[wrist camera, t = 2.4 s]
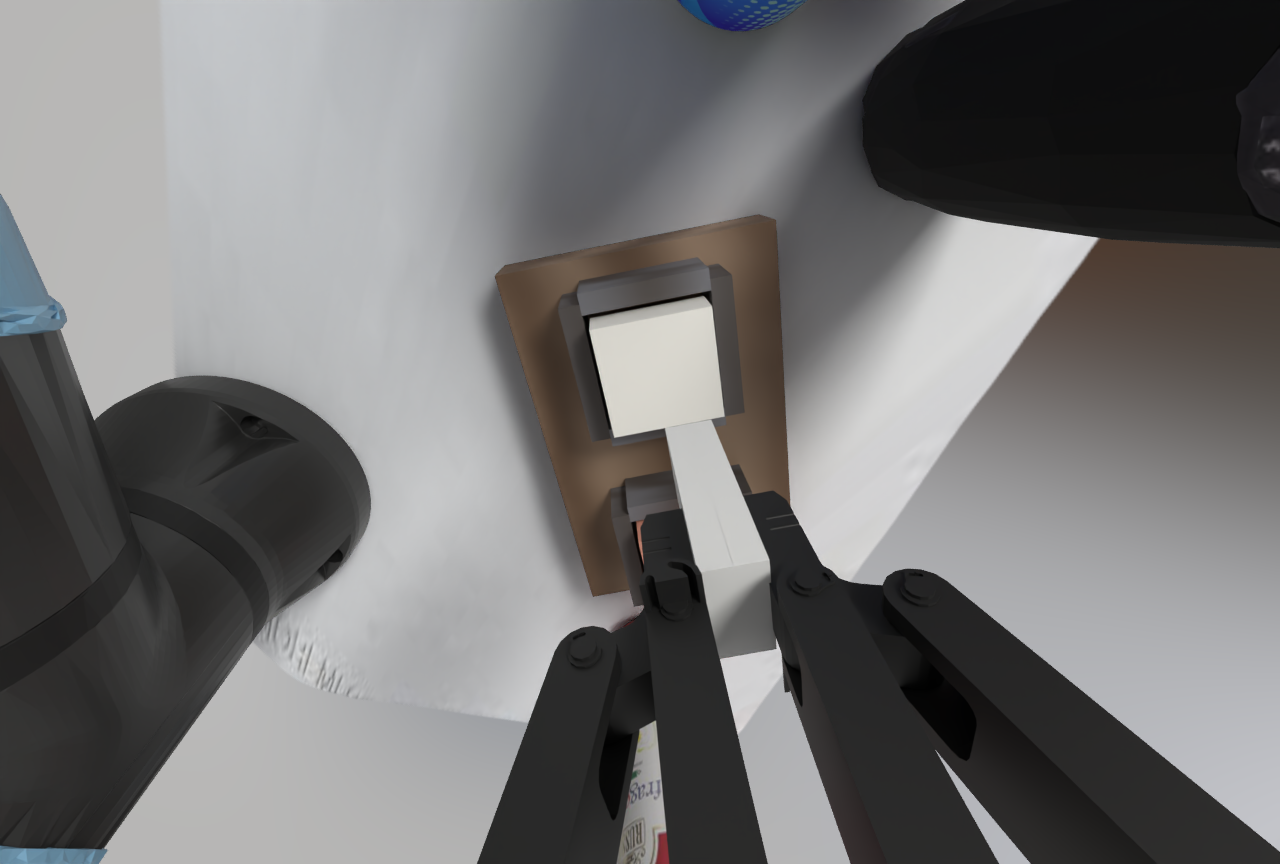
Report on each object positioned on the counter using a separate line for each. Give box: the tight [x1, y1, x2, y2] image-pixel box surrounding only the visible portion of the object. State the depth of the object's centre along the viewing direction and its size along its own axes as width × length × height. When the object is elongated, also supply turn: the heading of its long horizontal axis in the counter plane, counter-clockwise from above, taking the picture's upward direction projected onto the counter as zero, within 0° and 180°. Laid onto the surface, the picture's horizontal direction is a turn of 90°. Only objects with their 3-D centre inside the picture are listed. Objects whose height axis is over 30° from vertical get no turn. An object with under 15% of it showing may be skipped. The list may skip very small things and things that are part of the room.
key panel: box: [495, 215, 790, 607], centre depth 30 cm, size 14×22×6 cm, turn 10°
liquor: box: [617, 620, 669, 864], centre depth 29 cm, size 7×7×28 cm
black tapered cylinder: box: [862, 0, 1280, 248], centre depth 17 cm, size 9×9×20 cm
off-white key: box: [589, 296, 725, 438], centre depth 24 cm, size 5×5×2 cm
